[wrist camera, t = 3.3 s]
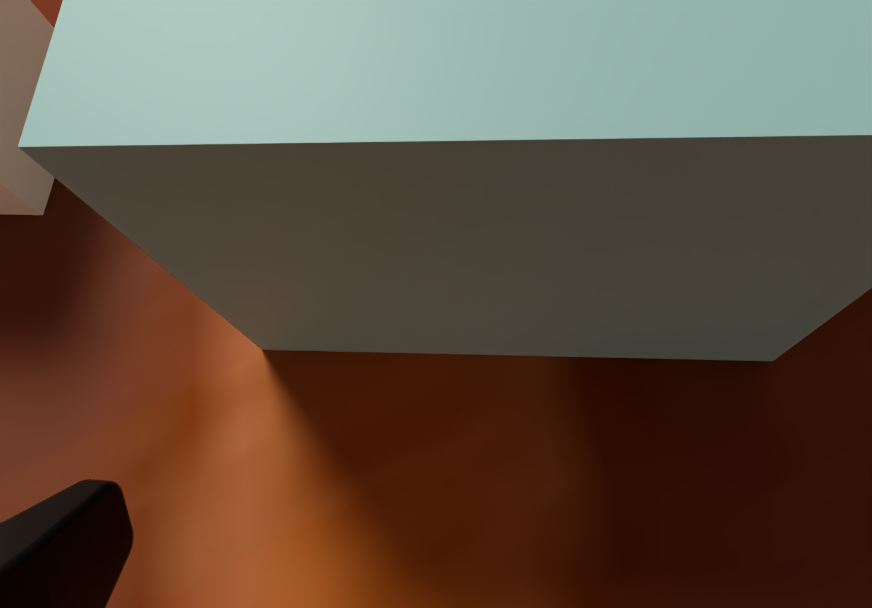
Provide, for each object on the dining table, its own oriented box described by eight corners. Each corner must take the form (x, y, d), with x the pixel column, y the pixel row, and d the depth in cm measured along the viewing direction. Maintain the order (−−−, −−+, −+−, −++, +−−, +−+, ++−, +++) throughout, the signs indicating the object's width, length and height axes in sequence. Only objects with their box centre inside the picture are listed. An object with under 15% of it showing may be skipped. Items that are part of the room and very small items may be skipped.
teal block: (770, 362, 15) (1081, 132, 7) (264, 351, 17) (17, 147, 8) (728, 15, 19) (904, -417, 10) (310, 30, 20) (169, -343, 12)
